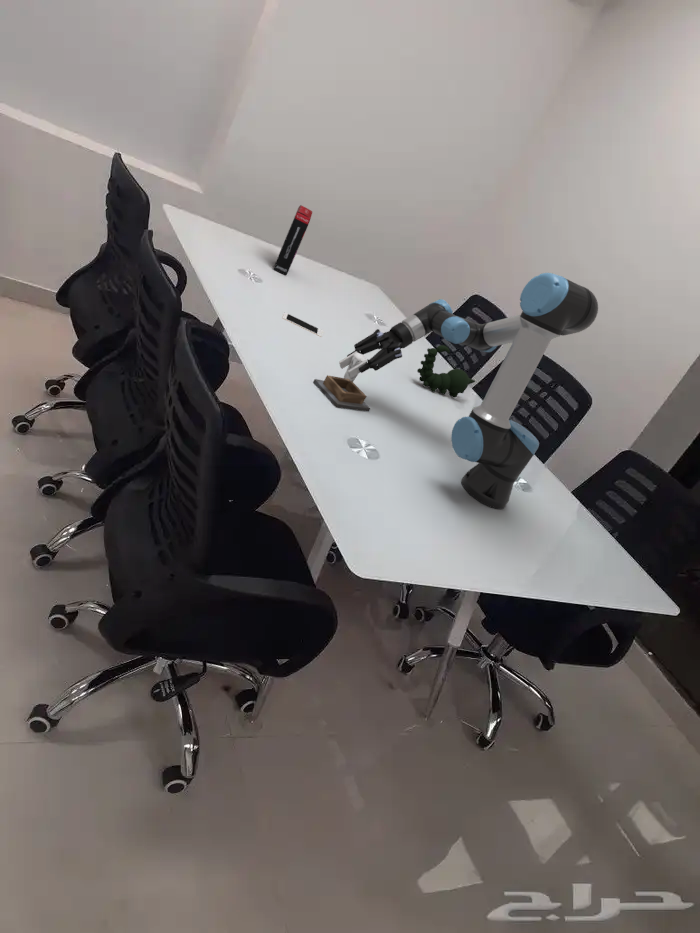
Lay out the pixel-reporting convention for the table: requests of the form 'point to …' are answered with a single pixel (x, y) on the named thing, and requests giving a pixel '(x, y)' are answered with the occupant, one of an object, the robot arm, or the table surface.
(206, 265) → the table surface
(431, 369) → the toy figurine
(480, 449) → the robot arm
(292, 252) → the graphics card box
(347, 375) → the milkshake
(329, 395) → the socket board
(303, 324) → the cell phone
